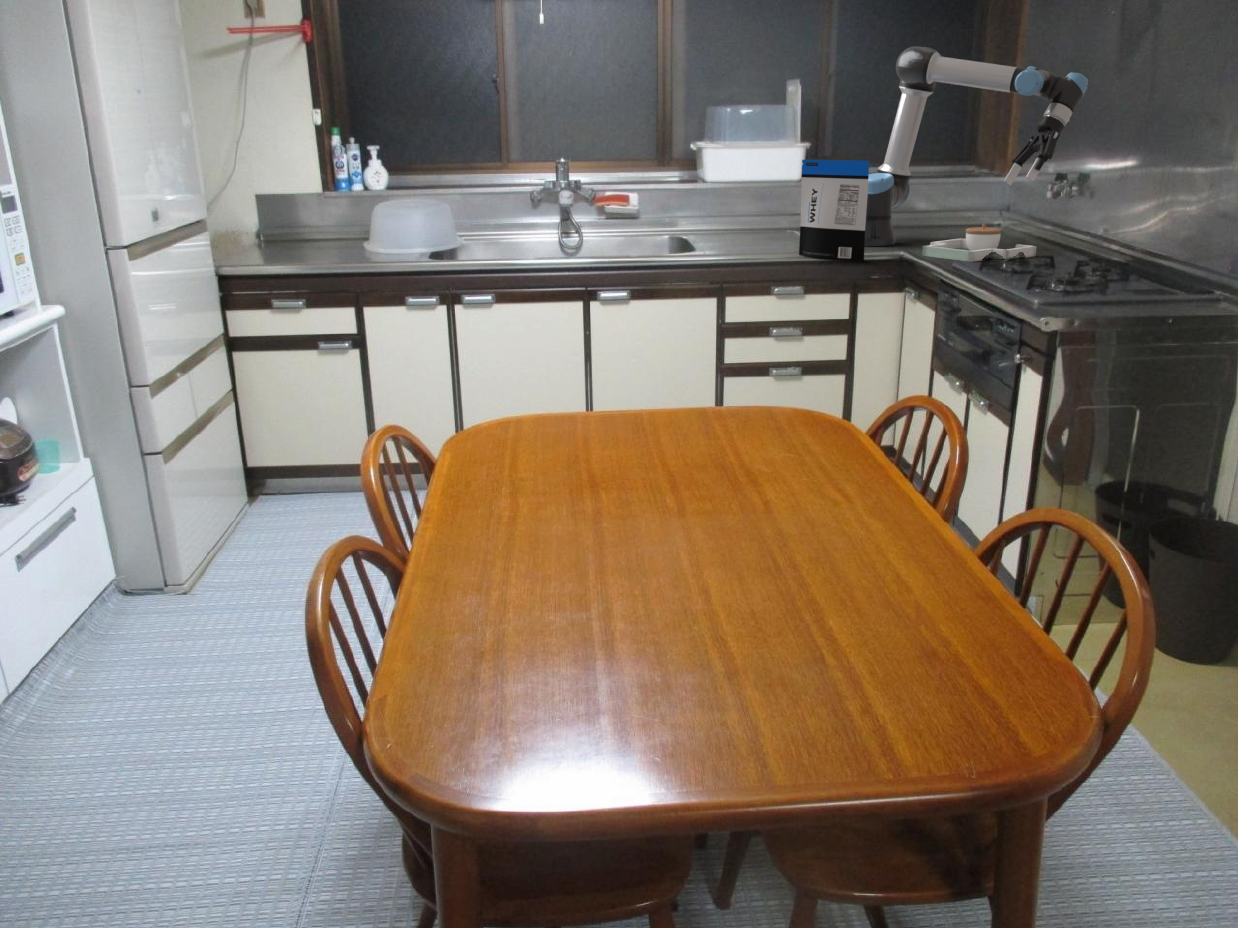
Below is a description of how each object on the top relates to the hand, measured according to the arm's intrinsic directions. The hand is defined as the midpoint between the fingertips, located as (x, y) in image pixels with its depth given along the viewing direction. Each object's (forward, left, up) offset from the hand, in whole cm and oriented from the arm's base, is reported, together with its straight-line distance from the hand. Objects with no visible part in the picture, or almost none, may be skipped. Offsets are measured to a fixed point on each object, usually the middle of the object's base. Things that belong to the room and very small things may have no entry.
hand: (1018, 181), depth 325 cm
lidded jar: (-2, -12, -22) cm, 25 cm away
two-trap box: (-2, -17, -22) cm, 28 cm away
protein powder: (-28, -53, -22) cm, 64 cm away
